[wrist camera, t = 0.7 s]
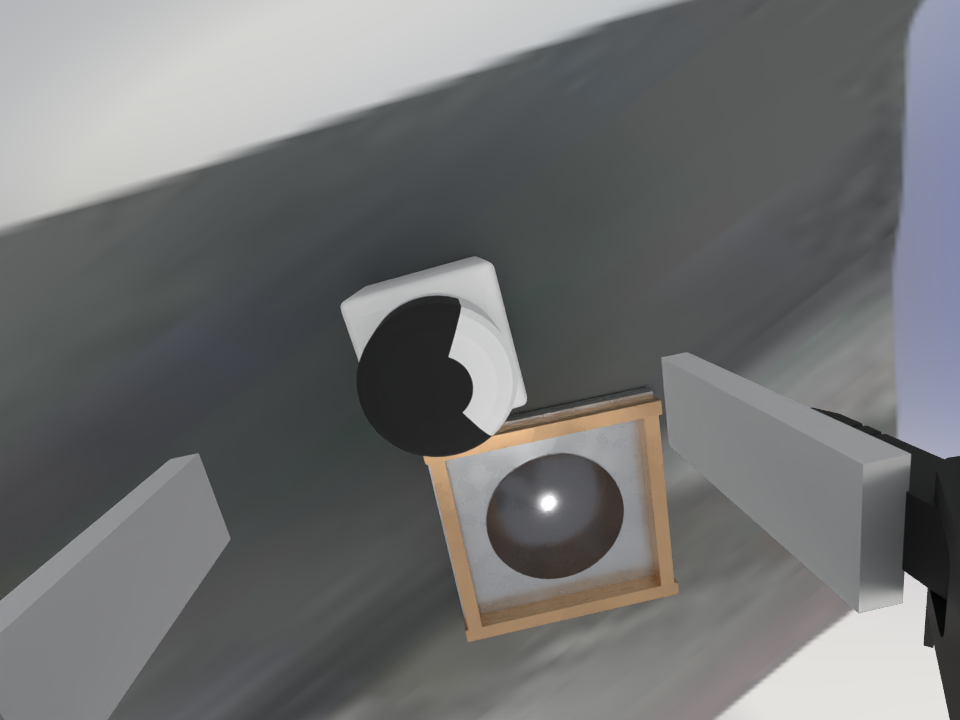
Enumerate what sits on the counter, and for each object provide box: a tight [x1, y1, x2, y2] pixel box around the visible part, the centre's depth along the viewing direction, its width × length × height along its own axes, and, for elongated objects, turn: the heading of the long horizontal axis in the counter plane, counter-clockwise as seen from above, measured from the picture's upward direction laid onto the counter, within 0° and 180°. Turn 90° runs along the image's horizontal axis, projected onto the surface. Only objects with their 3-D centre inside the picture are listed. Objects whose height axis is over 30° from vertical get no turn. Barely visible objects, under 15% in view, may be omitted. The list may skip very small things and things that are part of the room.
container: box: [341, 256, 527, 457], centre depth 25 cm, size 8×8×13 cm
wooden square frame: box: [424, 387, 679, 642], centre depth 34 cm, size 16×16×2 cm
